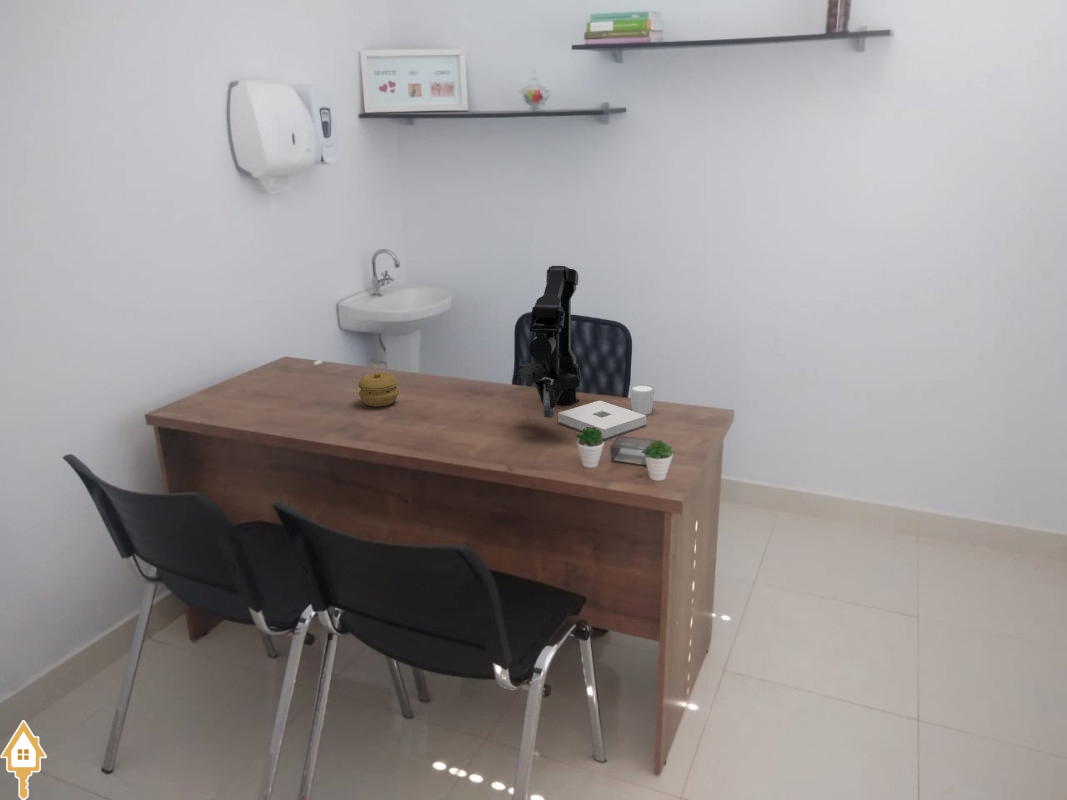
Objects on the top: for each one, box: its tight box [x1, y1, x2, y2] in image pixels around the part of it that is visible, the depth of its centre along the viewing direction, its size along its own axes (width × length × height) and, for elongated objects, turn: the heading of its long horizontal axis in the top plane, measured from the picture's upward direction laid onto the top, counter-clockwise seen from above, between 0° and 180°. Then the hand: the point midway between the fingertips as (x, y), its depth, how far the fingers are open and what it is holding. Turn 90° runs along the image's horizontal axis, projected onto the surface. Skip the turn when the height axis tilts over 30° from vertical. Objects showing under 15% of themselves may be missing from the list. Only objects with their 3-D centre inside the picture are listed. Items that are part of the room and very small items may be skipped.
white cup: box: [629, 384, 656, 416], centre depth 235 cm, size 7×7×7 cm
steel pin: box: [542, 382, 555, 418], centre depth 220 cm, size 3×3×9 cm
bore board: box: [557, 400, 647, 441], centre depth 226 cm, size 18×16×3 cm
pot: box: [357, 371, 400, 408], centre depth 246 cm, size 12×12×10 cm
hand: (548, 406), depth 220 cm, fingers closed on steel pin, 3 cm apart
